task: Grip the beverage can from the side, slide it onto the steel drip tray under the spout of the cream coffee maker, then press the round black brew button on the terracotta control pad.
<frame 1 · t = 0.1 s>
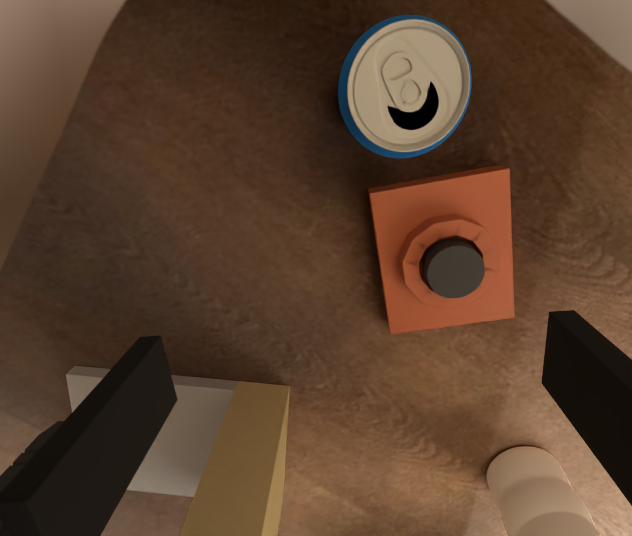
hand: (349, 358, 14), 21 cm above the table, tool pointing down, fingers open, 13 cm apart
beverage can: (382, 98, 30), on the table
brew pad: (439, 249, 34), on the table
water bottle: (519, 468, 42), on the table
brew button: (452, 268, 30), point 4 cm above the table, slide at 0.1 cm
coffee maker: (150, 429, 42), on the table
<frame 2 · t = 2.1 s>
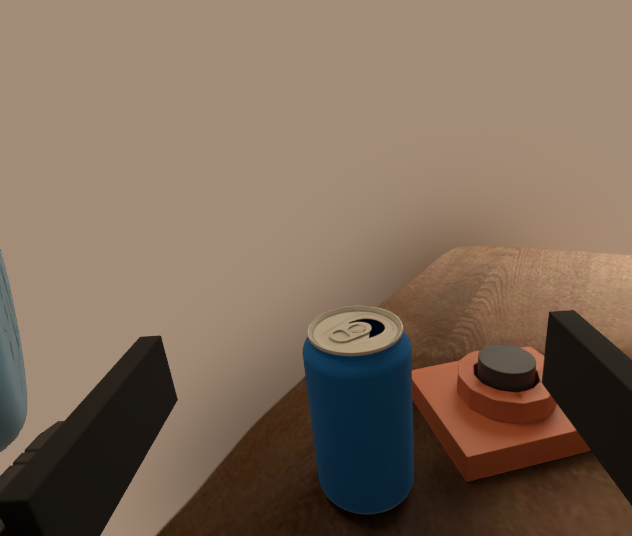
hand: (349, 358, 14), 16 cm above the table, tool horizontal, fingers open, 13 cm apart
beverage can: (366, 481, 29), on the table
brew pad: (502, 414, 33), on the table
brew button: (505, 367, 32), point 4 cm above the table, slide at 0.1 cm
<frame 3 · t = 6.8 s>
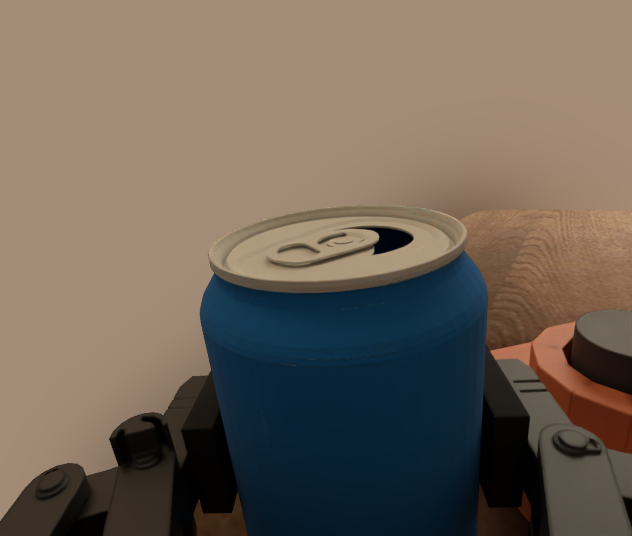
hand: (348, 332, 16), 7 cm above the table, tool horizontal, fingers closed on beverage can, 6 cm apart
brew pad: (614, 439, 18), on the table
brew button: (631, 351, 17), point 4 cm above the table, slide at 0.1 cm
when the fingers open (8 cm above the table, at t = 19.5 s): beverage can stays where it is, resting on coffee maker.
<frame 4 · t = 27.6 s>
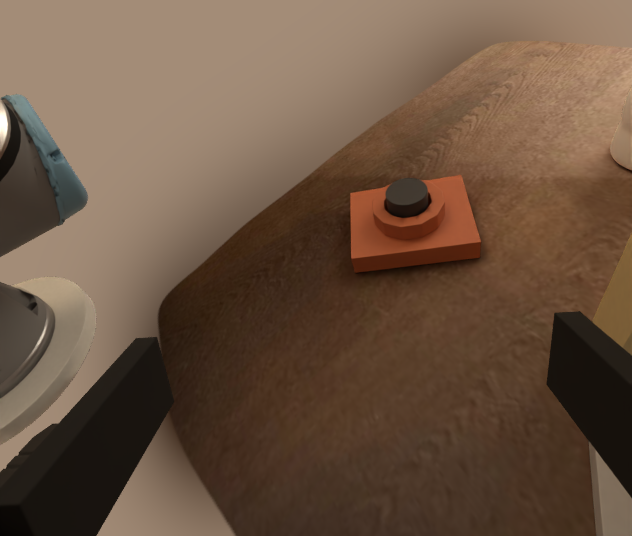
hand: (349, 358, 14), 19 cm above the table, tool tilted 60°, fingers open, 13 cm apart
brew pad: (410, 230, 44), on the table
brew button: (406, 197, 41), point 4 cm above the table, slide at 0.1 cm
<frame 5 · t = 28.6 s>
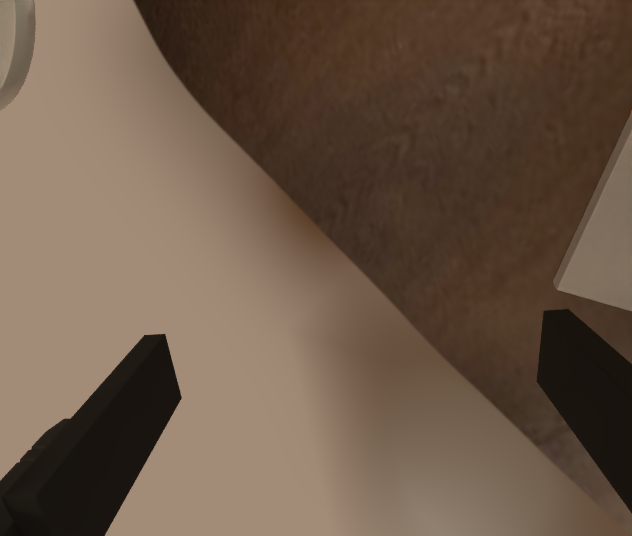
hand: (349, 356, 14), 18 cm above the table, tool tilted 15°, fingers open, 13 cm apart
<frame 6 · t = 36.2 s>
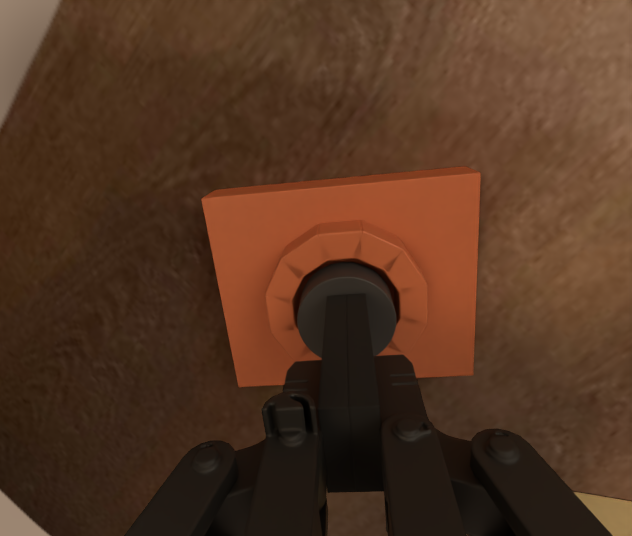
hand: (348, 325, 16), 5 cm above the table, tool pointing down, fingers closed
brew pad: (345, 275, 21), on the table
brew button: (346, 312, 17), point 4 cm above the table, slide at -0.1 cm, touching gripper
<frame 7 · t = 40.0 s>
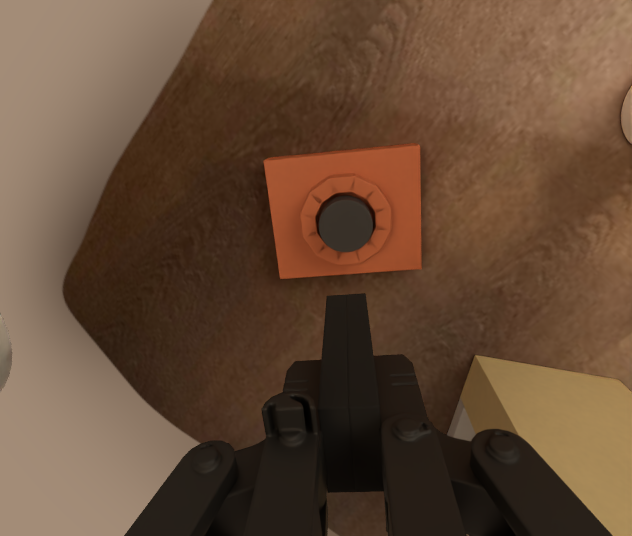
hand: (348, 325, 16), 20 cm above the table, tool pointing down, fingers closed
brew pad: (345, 210, 35), on the table
brew button: (345, 223, 31), point 4 cm above the table, slide at 0.1 cm
coffee maker: (500, 475, 45), on the table
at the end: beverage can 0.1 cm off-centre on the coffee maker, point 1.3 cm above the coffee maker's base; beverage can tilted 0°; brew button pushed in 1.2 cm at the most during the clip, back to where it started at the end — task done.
